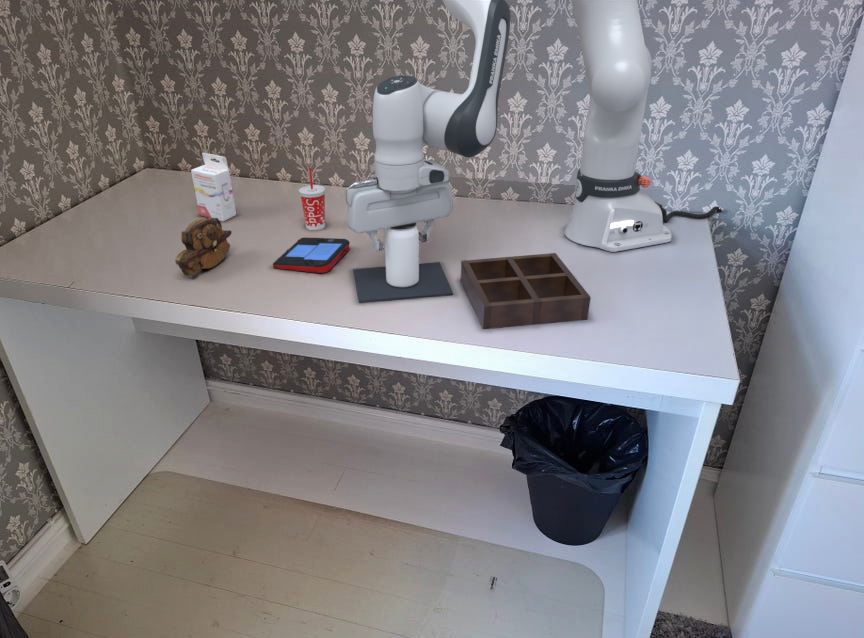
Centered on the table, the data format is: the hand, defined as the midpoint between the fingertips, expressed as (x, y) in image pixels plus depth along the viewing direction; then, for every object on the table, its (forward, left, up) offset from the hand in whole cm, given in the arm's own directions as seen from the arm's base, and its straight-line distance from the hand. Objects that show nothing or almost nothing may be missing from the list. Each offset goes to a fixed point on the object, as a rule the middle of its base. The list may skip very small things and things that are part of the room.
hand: (401, 245), depth 130 cm
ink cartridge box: (+40, -45, -8) cm, 61 cm away
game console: (+17, -15, -8) cm, 24 cm away
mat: (0, 0, -8) cm, 8 cm away
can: (0, 0, -8) cm, 8 cm away
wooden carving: (+39, -15, -8) cm, 43 cm away
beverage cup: (+16, -33, -8) cm, 38 cm away
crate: (-21, +11, -8) cm, 25 cm away
